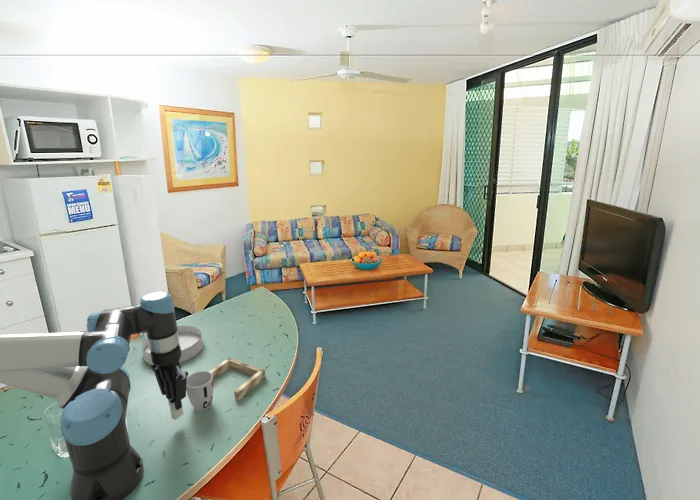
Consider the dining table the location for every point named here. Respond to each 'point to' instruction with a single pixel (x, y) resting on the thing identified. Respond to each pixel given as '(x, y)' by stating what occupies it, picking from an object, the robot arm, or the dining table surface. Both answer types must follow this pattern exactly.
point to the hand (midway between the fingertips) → (177, 416)
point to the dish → (181, 343)
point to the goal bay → (254, 371)
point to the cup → (200, 390)
